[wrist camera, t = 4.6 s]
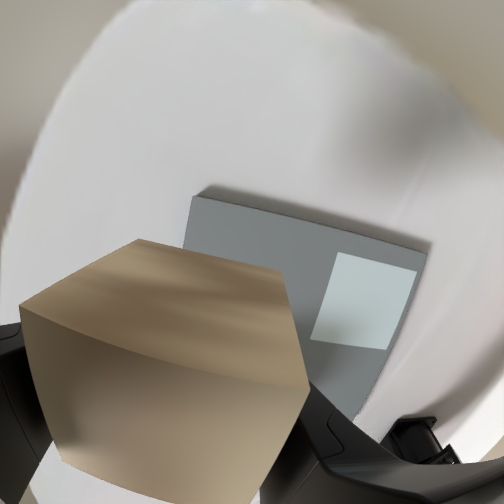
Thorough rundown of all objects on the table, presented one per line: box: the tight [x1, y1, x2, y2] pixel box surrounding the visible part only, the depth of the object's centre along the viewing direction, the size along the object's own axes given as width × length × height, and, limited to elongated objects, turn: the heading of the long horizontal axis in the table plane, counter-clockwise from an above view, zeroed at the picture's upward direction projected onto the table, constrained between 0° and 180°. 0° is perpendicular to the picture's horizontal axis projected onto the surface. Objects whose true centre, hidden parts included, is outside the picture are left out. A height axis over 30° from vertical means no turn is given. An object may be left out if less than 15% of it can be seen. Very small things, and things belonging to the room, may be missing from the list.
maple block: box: [19, 239, 310, 504], centre depth 7 cm, size 5×5×6 cm
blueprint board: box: [183, 195, 427, 422], centre depth 22 cm, size 18×18×1 cm
